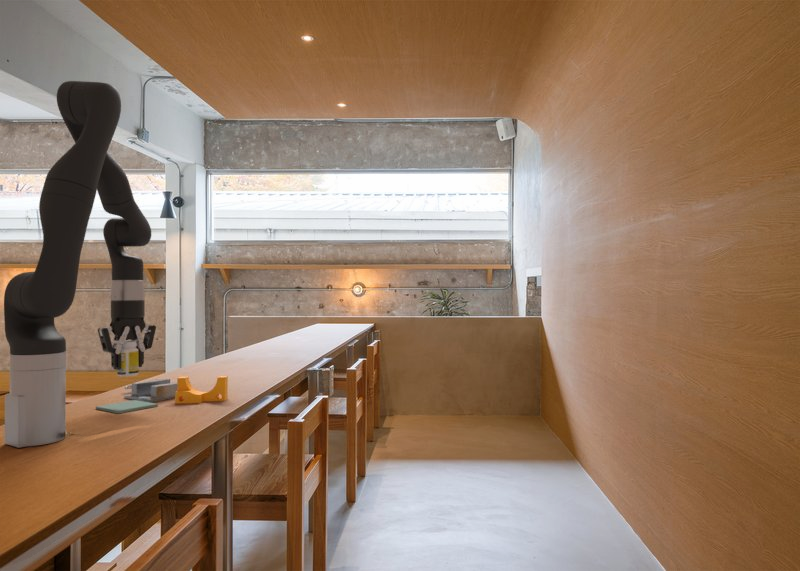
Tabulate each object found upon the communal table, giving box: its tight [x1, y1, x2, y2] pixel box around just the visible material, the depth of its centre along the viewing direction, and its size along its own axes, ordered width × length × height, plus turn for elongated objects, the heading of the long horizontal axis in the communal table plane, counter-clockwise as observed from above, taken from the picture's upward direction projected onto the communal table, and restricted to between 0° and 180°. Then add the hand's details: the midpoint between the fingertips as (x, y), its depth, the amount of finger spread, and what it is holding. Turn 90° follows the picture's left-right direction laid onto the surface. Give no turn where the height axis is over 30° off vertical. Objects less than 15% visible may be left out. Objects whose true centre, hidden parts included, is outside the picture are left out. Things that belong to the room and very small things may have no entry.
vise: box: [123, 378, 177, 403], centre depth 152 cm, size 14×18×4 cm
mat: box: [95, 400, 159, 414], centre depth 136 cm, size 10×10×1 cm
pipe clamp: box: [174, 375, 229, 404], centre depth 142 cm, size 12×4×6 cm, turn 93°
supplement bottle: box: [116, 340, 140, 378], centre depth 136 cm, size 5×5×8 cm
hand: (128, 367), depth 136 cm, fingers closed on supplement bottle, 4 cm apart
